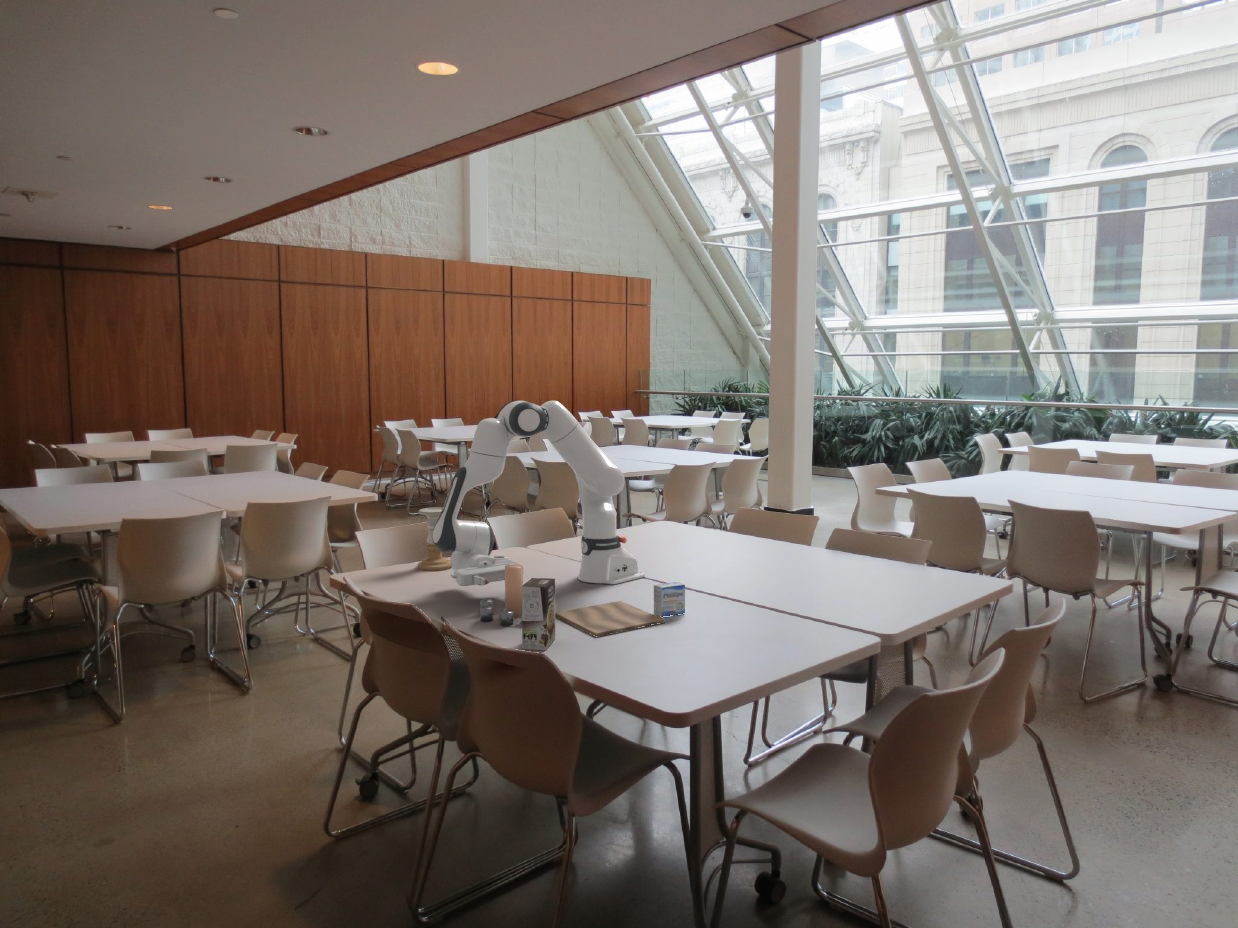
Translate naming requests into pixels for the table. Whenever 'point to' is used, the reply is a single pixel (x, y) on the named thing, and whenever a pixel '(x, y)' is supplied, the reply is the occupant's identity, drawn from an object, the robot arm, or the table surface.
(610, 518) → the robot arm
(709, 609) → the table surface
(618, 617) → the walnut board
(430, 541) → the candle holder
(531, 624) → the coffee box
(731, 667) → the table surface
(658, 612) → the medicine box
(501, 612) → the posts
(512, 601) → the peach rounded cylinder
